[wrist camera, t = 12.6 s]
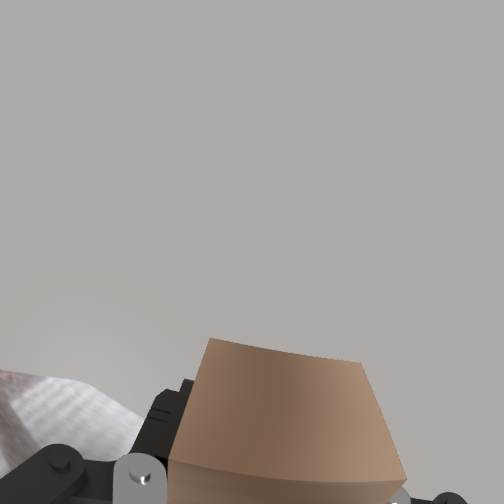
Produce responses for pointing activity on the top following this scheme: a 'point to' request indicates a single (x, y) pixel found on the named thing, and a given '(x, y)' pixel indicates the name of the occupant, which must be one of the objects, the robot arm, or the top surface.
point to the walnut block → (281, 433)
